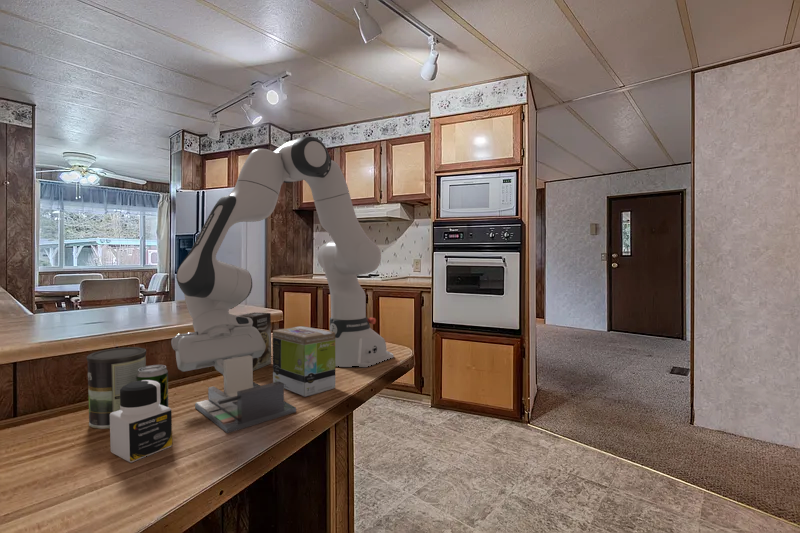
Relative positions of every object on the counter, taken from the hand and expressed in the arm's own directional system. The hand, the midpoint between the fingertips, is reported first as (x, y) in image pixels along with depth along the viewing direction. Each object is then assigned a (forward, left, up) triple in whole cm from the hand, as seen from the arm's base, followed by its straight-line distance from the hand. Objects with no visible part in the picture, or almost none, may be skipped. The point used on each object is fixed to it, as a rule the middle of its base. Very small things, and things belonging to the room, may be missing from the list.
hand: (231, 377), depth 96 cm
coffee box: (-17, -25, -6) cm, 31 cm away
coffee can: (+21, -7, -6) cm, 23 cm away
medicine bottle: (+21, +12, -6) cm, 25 cm away
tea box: (-18, +2, -6) cm, 19 cm away
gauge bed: (0, +7, -6) cm, 9 cm away
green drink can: (+17, +3, -6) cm, 18 cm away
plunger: (+2, +7, -5) cm, 9 cm away
